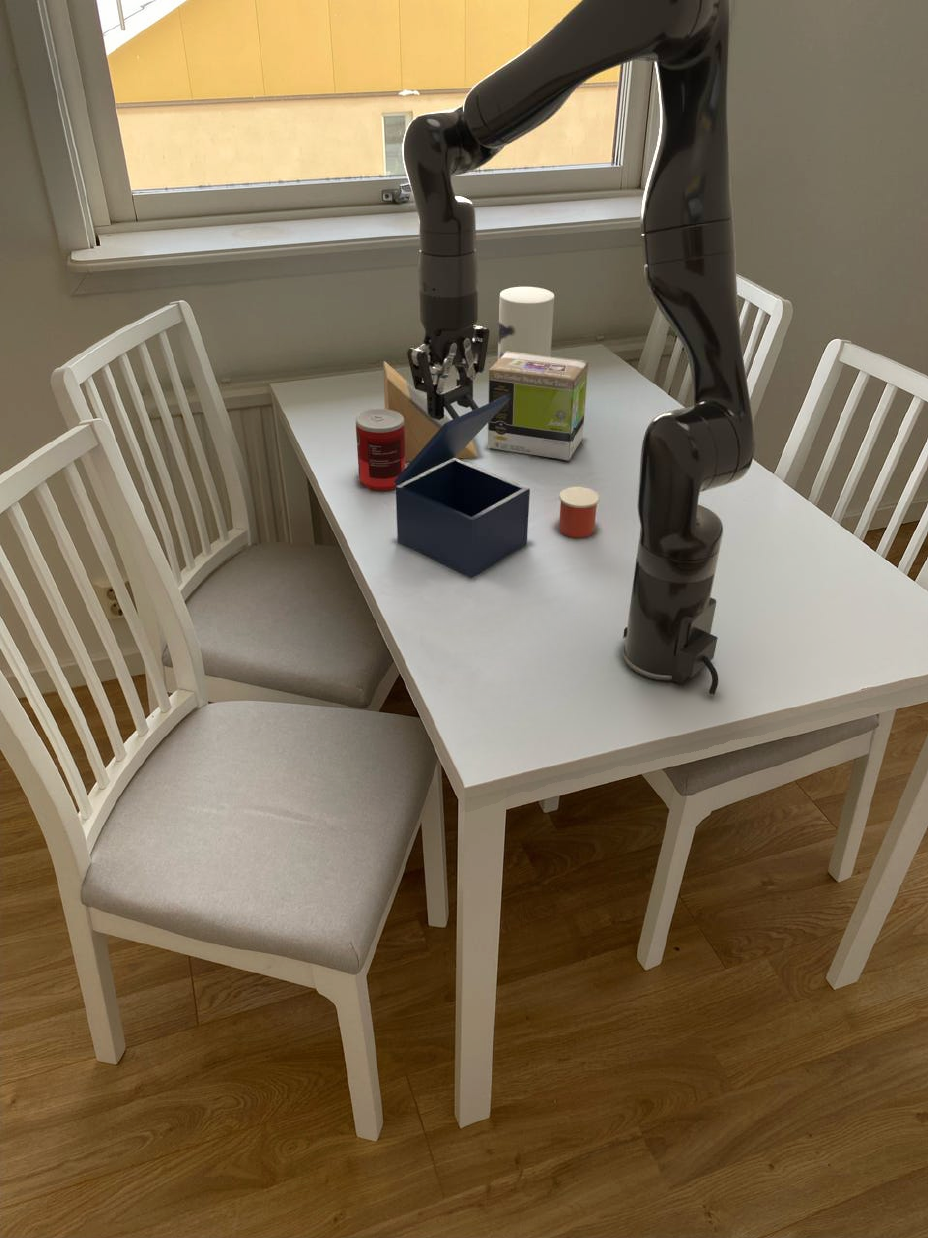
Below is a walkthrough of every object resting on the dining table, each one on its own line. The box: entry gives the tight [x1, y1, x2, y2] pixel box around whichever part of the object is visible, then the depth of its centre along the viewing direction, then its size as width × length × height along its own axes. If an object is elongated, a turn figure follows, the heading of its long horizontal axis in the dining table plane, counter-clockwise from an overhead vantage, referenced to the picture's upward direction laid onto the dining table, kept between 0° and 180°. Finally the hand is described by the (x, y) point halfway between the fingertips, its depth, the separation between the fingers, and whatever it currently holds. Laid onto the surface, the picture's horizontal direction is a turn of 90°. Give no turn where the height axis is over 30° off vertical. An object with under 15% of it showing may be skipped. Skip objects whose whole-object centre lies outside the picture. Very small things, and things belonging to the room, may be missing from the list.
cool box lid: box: [394, 384, 510, 485], centre depth 135 cm, size 16×13×5 cm
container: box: [497, 286, 555, 361], centre depth 182 cm, size 10×10×20 cm
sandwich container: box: [382, 360, 479, 463], centre depth 165 cm, size 9×15×15 cm, turn 99°
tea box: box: [487, 351, 589, 461], centre depth 167 cm, size 15×10×15 cm, turn 70°
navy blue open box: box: [395, 458, 531, 579], centre depth 141 cm, size 15×13×9 cm
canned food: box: [355, 408, 407, 492], centre depth 156 cm, size 8×8×11 cm
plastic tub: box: [558, 486, 600, 538], centre depth 146 cm, size 6×6×6 cm
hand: (450, 411), depth 133 cm, fingers closed on cool box lid, 5 cm apart
